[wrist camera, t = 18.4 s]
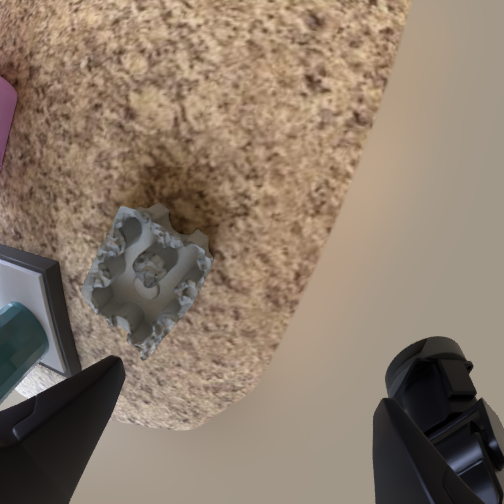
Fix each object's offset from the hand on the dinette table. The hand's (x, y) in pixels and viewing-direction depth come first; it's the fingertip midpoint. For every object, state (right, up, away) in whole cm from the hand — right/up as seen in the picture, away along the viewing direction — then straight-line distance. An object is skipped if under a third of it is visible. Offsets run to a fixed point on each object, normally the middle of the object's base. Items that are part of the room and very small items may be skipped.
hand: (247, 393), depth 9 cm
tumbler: (-24, -4, +17) cm, 29 cm away
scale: (-28, -1, +19) cm, 34 cm away
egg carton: (-7, +3, +14) cm, 16 cm away
